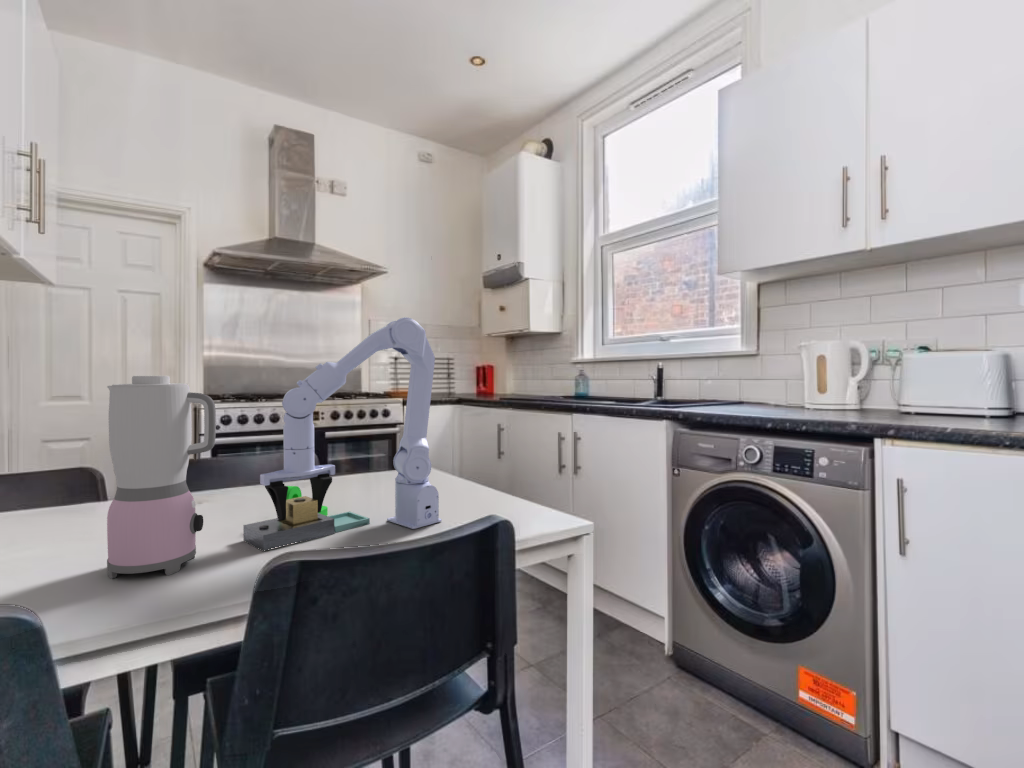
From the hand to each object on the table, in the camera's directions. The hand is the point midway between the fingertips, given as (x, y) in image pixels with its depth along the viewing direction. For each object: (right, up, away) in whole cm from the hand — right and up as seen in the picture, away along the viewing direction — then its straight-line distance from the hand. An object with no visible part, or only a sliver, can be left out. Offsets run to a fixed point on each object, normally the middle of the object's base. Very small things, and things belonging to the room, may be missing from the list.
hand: (299, 515), depth 103 cm
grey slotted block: (-1, -4, -1) cm, 4 cm away
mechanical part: (-3, -4, +11) cm, 12 cm away
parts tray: (+6, -4, +7) cm, 10 cm away
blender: (-16, -5, -16) cm, 23 cm away
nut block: (0, -4, 0) cm, 4 cm away
